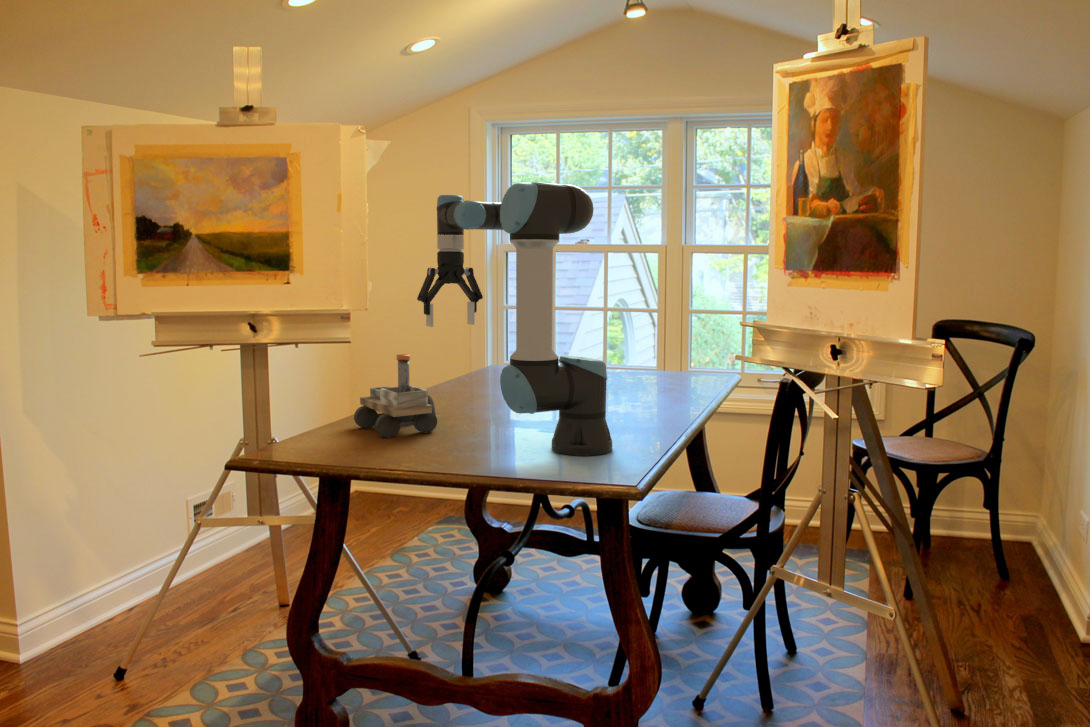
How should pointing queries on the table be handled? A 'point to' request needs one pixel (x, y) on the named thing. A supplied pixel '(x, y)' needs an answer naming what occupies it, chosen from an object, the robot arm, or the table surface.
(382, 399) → the cart
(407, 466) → the table surface
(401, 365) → the pin
